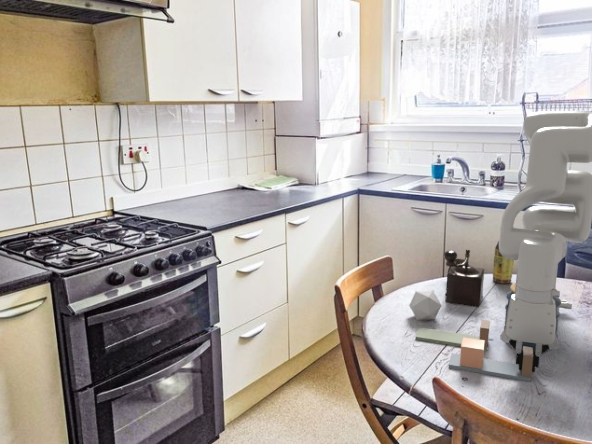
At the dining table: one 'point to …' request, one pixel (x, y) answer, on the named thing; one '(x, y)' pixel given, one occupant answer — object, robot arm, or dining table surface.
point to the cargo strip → (500, 366)
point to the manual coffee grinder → (463, 281)
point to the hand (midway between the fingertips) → (526, 367)
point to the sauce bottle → (502, 267)
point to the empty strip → (453, 335)
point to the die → (425, 305)
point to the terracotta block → (472, 353)
